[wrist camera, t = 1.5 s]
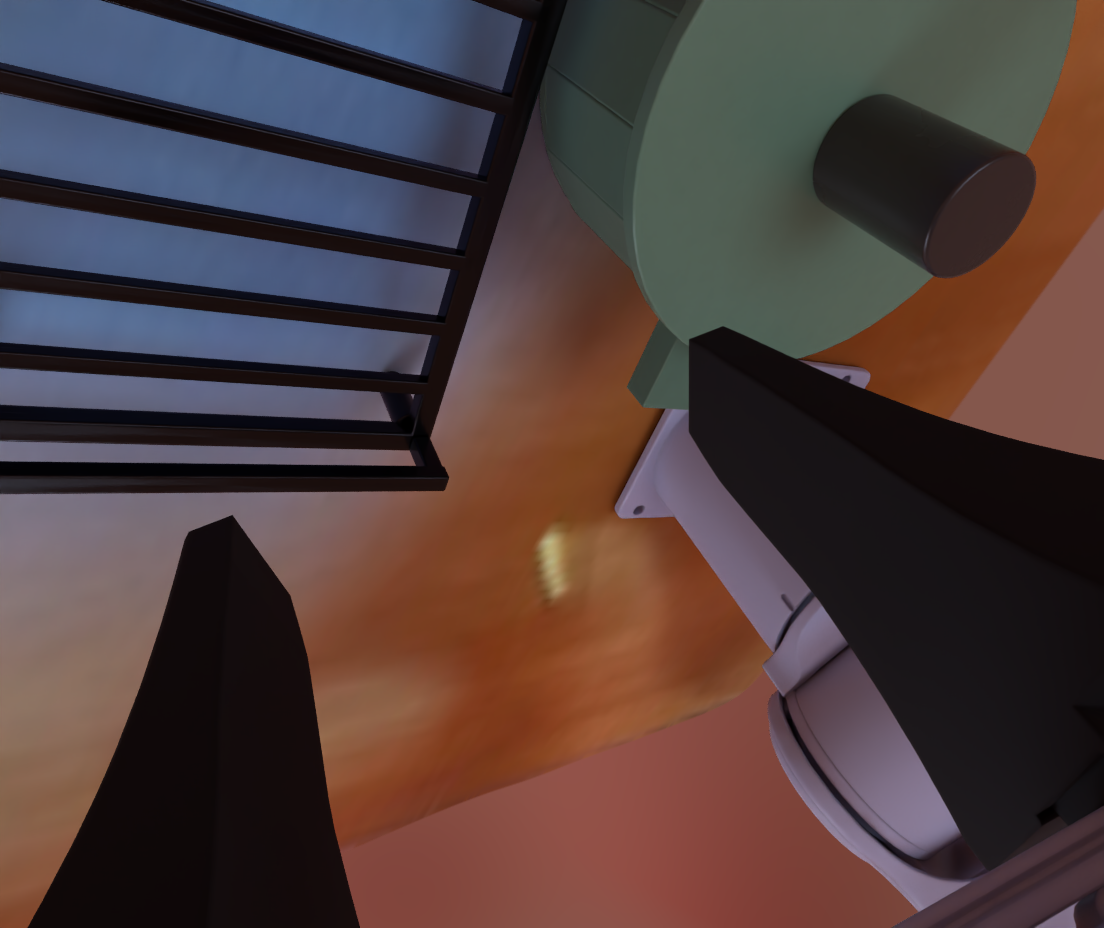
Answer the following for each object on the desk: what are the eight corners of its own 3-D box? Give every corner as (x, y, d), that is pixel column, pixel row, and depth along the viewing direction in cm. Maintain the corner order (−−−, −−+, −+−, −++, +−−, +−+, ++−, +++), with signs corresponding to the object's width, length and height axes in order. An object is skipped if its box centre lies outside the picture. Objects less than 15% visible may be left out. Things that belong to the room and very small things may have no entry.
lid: (1121, -53, 16) (1344, -9, 13) (849, 359, 22) (962, 454, 19) (778, -326, 11) (1030, -355, 8) (538, 318, 17) (628, 443, 14)
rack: (576, -232, 14) (694, -226, 11) (402, 396, 23) (444, 493, 20) (-201, -689, 9) (-363, -908, 6) (-58, 367, 17) (-95, 498, 14)
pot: (1008, -202, 18) (1228, -190, 14) (718, 339, 26) (812, 431, 23) (699, -473, 13) (920, -557, 9) (462, 304, 21) (530, 417, 18)
